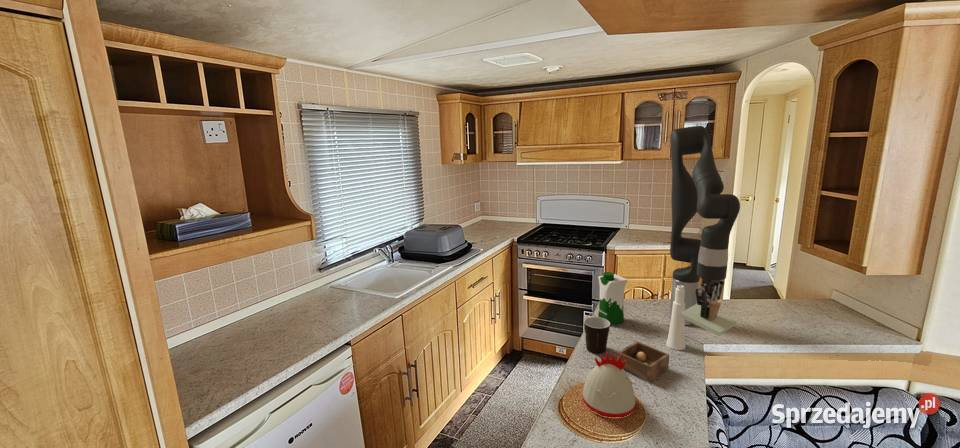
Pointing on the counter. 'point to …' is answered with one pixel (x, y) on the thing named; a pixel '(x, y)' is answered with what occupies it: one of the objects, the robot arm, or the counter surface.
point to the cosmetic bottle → (677, 322)
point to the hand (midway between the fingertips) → (707, 315)
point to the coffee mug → (596, 334)
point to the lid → (714, 323)
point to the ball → (641, 356)
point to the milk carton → (612, 297)
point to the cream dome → (609, 388)
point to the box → (638, 368)
